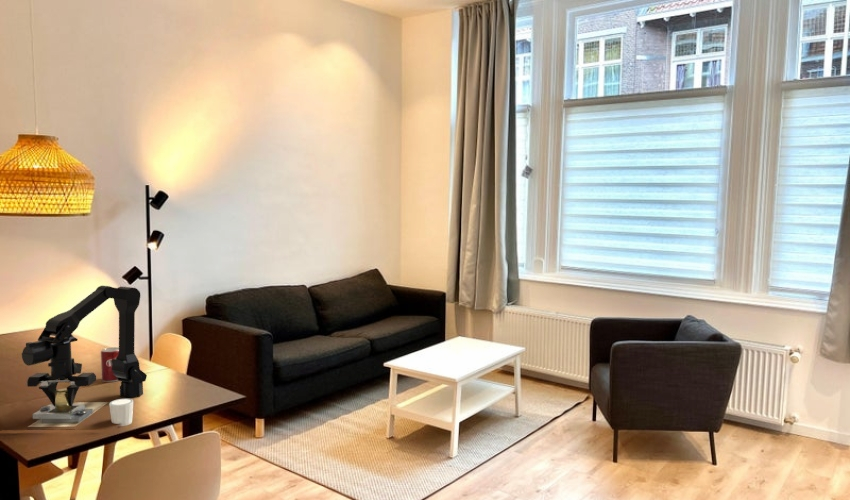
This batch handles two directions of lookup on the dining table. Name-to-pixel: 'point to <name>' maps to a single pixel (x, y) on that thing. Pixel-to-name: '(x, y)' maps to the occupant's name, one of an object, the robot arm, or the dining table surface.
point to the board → (88, 405)
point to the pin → (61, 400)
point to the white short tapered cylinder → (121, 411)
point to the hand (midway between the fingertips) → (63, 405)
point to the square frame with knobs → (62, 414)
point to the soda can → (108, 363)
